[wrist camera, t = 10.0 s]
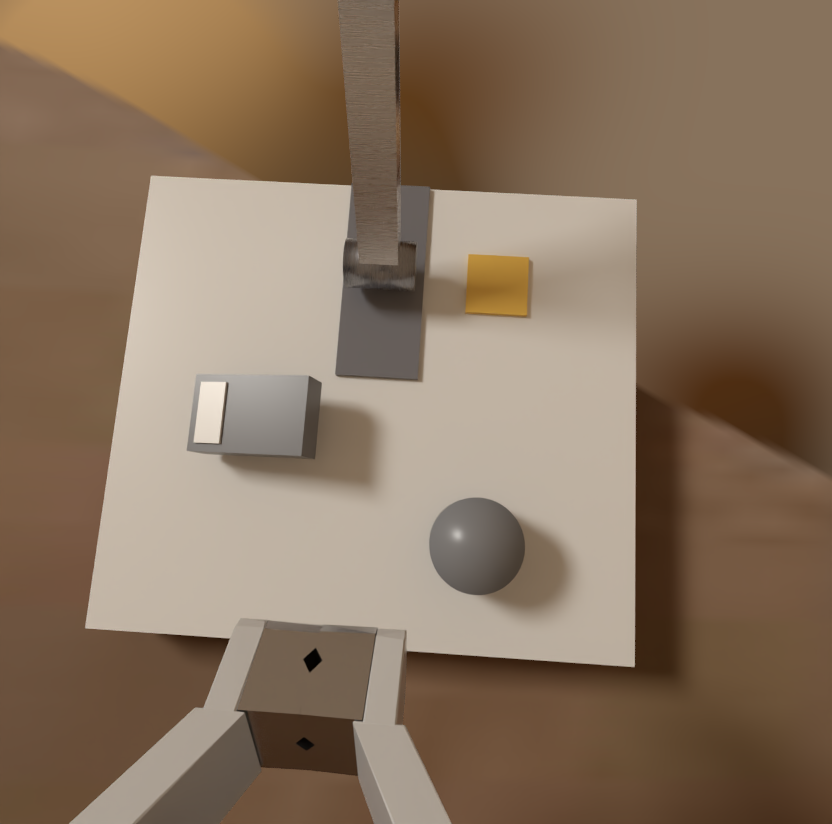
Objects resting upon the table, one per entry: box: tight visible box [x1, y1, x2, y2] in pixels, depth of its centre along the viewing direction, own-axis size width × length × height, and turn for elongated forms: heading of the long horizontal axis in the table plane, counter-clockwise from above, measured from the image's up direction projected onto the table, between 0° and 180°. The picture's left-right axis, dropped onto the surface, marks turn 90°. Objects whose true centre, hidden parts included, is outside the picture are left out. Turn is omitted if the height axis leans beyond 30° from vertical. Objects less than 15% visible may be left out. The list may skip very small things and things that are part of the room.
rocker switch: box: [187, 374, 322, 459], centre depth 21 cm, size 4×3×1 cm, turn 86°
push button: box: [429, 498, 525, 595], centre depth 20 cm, size 3×3×2 cm
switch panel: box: [85, 176, 637, 667], centre depth 24 cm, size 20×18×3 cm
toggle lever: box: [338, 0, 417, 291], centre depth 17 cm, size 3×3×14 cm
